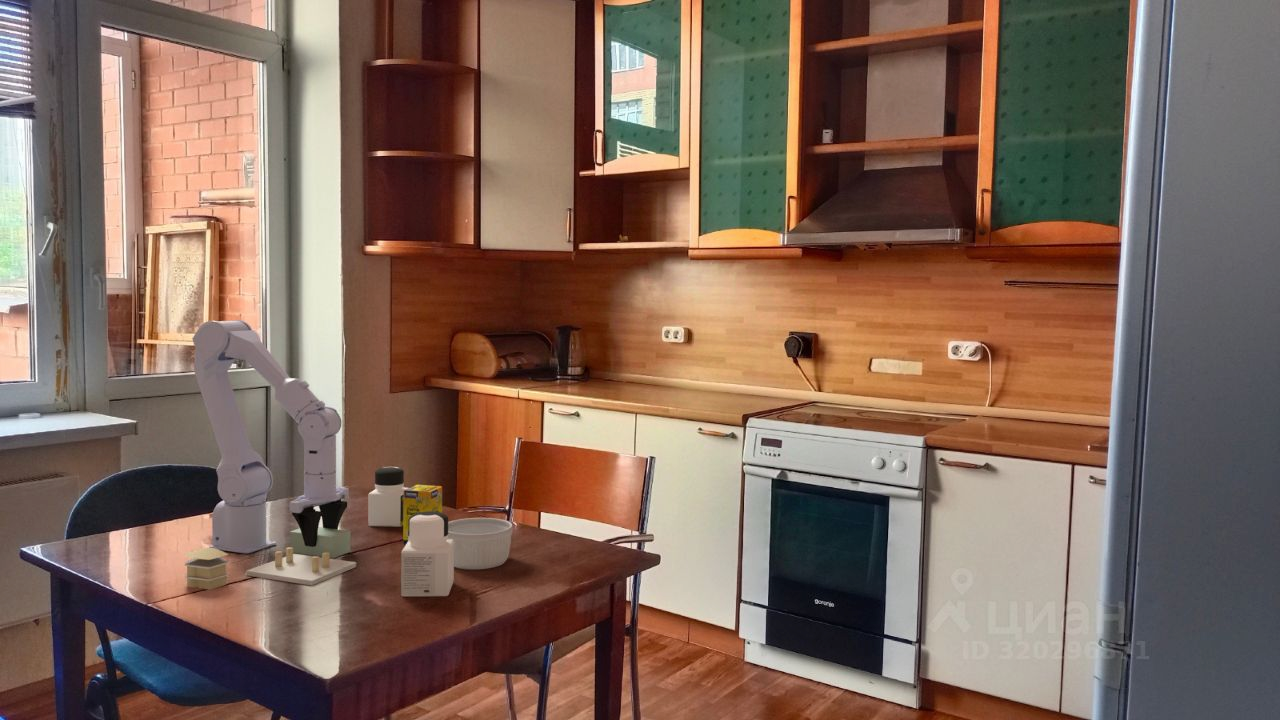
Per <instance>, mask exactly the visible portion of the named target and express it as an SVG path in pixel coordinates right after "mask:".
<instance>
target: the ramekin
mask: <svg viewBox="0 0 1280 720" xmlns="http://www.w3.org/2000/svg"><path fill="white" fill-rule="evenodd" d="M513 530H514V526H513V523H512V522H510V521H508V520H505V519H500V518H493V517H470V518H461V519H459V518H458V519H454V520H451V521H448V539H453V540H454V568H456V569H461V570H486V569H492V568H496V567H499V566H501V565H503V564H505V562H506V561H507V559H509V555H510V550H511V541H512V534H513Z"/></svg>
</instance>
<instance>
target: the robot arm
mask: <svg viewBox="0 0 1280 720" xmlns="http://www.w3.org/2000/svg"><path fill="white" fill-rule="evenodd" d="M192 342H193V345H194V348H195V352H194V353H195V354H194V362H193V363H194V364H193V369H194V371H193V372H194V375H195V378H196V382H197V384H198V387H199V390H200V394H201V396H202V399H203V403H204V406H205V408H206V412H207V415H208V418H209V421H210V424H211V428H212V431H213V433H214V438H215V440H216V443H217V447H218V449H219V453H220V456H221V459H220V462H219V464H218V465H217V467H216V470H215V471H216V474H217V481H218V482H217V492H218V495H219V497H220V499H222V500H221V501H220V502H218V503H217V504H216V506H215V507H214V509H213V512H212V514H211V515H212V518H211V519H212V520H211V522H212V526H211V527H212V531H211V532H212V534H211V535H212V540H211V541H212V544H211V545H209V546H208V548H214V549H218V550H220V551H223V552H225V551H227V552H232V553H239V554H246V555H247V554H251V553H254V552H257V551H261V550H263V549H266V548H269V547H272V546H275V545H277V541H273V540H268V539H267V498H268V492H269V491H271V489H272V487H273V484H274V476H273V473H272V470H271V469H270V468H269V467H268V466H267V465H266V464H265V462H264V460H263V456H262V455H260V454H259V452H256V451H255V450H254V449H253V448H252V445H251V443H250V442H251V441H250V440H249V436H248V433H247V430H246V427H245V424H244V421H243V418H242V414H241V410H240V409H239V405H238V402H237V399H236V396H235V392H234V389H233V387H232V383H231V381H230V376H229V373H228V371H229V370H230V368H231V367H232V365H233V363H234V362H235V361H236V359H237V360H242V361H245V362H247V363H248V365H250V366H251V368H253V370H255V371H256V372H257V373H258V374H259V375H260V376H261V377H262V378H263V379H264V380H265V381H266V382H268V384H270V386H271V387H272V388H274V390H275V391H274V399H275V400H276V401H277V402H278V404H279V405H280V406H281V407H283V409H284V410H285V411H286V412H287V414H289V416H291V417H292V419H293V420H294V421H295V422H296V423H297V424H298V425H297V431H298V434H299V435H300V436H301V438H302V439H303V447H304V449H303V450H304V451H303V455H304V456H303V458H304V460H303V463H304V464H303V468H304V469H303V470H304V471H303V476H304V477H303V478H304V479H303V484H304V485H303V486H304V487H303V489H304V491H303V495H301V496H299V497H298V498H296V499H294V500H291V501H289V513H291V515H292V517H293V518H294V519H295V521H296V524H297V525H298V527H299V528H300V530H301V533H302V536H303V540H304V544H305V546H310V547H315V546H316V543H317V536H318V527H320V526H319V525H320V521H321V519H322V528H329V529H337V530H339V525H340V523H341V519H342V517H343V515H344V513H345V512H346V509H347V508H348V501H344V500H345V499H346V500H347V499H349V498H350V496H349V494H350V493H349V491H350V490H349V488H348V487H337V434H338V433H339V432H340V430H341V428H342V419H341V416H340V414H339V413H338V411H337V410H336V409H335V408H334V407H331V406H326V403H325V402H324V401H323V400H320V399H319V398H318V397H317V396H316V395H315V394H314V393H313V392H312V390H310V389H309V387H310V384H309V383H308V382H307V381H306V380H301V379H300V378H295V377H294V378H293V377H290V375H289V374H288V373H287V372H286V371H285V370H284V368H283V367H282V366H281V365H280V363H279V362H278V361H277V359H276V358H275V357H274V356H273V355H272V353H270V351H269V350H268V349H267V347H266V346H265V345H264V344H263V342H262V341H261V339H260V336H259V333H258V332H256V331H255V330H253V329H252V327H251V325H250V324H249V323H248V322H246V321H244V320H242V319H241V320H240V319H234V320H221V321H217V320H207V321H205V322H203V323H202V324H201V325H200V326H199V327H198V329H197V331H196V332H195V333H194V335H193V337H192ZM315 507H318V508H319V510H316V508H315Z"/></svg>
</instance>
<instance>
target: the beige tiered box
mask: <svg viewBox="0 0 1280 720" xmlns="http://www.w3.org/2000/svg"><path fill="white" fill-rule="evenodd" d="M227 555H228V556H229V553H226V552H225V551H224V550H218V549H214V548H209V547H208V548H207V547H204V548H198V549H196V550H193V551H191V552H189V553H186V554H184V557H185V558H191V559H189V560H187V561H185V562H184V566H185V567H186V572H187V573H185V574H184V578H185V579H186V584H187V585H186V586H187V587H188V588H199V589H203V590H209V591H210V590H214V589H216V588H219V587H223V586H226V585H227V576H229V575H230V573H228V572H227V565H228V564H229V563H230V562H229V561H228V560H226V559H223V558H222V557H224V556H227Z"/></svg>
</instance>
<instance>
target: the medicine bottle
mask: <svg viewBox="0 0 1280 720" xmlns="http://www.w3.org/2000/svg"><path fill="white" fill-rule="evenodd" d="M404 471H405V470H403V468H401V467H397V466H386V467H385V466H382V467H380V468H377V469H376V470H375V471H374V488H375V489H374V490H372V491H370V492H369V493H368V494H367V495H368V501H367V502H368V506H367V507H368V519H367V522H368V526H369V527H388V528H389V527H393V528H395V527H396V528H401V527H403V510H404V490H405V489H409V488H410V487H405V486H404V485H405V481H404V480H405V479H404V478H405V474H404V473H405V472H404Z"/></svg>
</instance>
